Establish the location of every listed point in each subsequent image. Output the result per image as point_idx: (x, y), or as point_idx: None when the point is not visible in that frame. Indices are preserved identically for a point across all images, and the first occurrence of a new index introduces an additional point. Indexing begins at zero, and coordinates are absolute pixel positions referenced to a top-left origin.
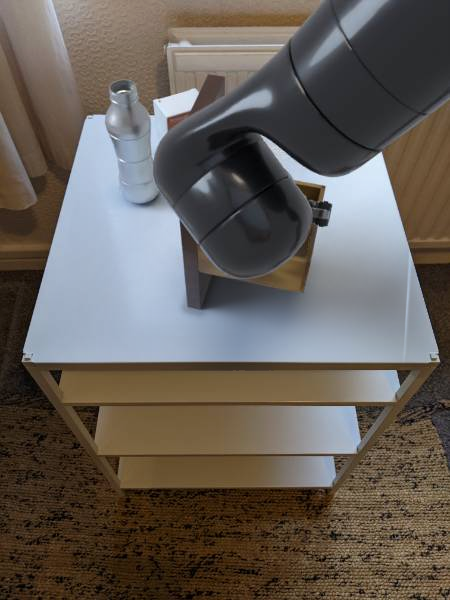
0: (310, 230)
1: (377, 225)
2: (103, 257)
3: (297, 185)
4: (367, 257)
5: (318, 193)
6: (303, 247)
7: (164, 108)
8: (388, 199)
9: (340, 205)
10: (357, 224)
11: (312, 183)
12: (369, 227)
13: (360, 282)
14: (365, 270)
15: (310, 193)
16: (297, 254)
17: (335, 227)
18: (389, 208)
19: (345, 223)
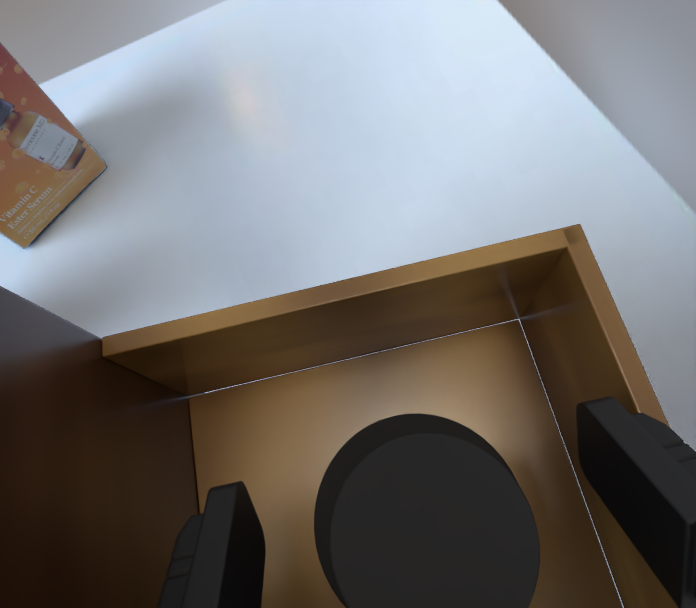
0: (534, 369)
1: (595, 172)
2: None
3: (457, 276)
4: (627, 280)
5: (552, 263)
6: (553, 463)
7: None
8: (577, 88)
9: (479, 158)
10: (548, 193)
11: (518, 239)
12: (580, 187)
13: (655, 368)
14: (645, 323)
15: (516, 275)
16: (551, 510)
17: (502, 227)
18: (593, 111)
19: (519, 204)
